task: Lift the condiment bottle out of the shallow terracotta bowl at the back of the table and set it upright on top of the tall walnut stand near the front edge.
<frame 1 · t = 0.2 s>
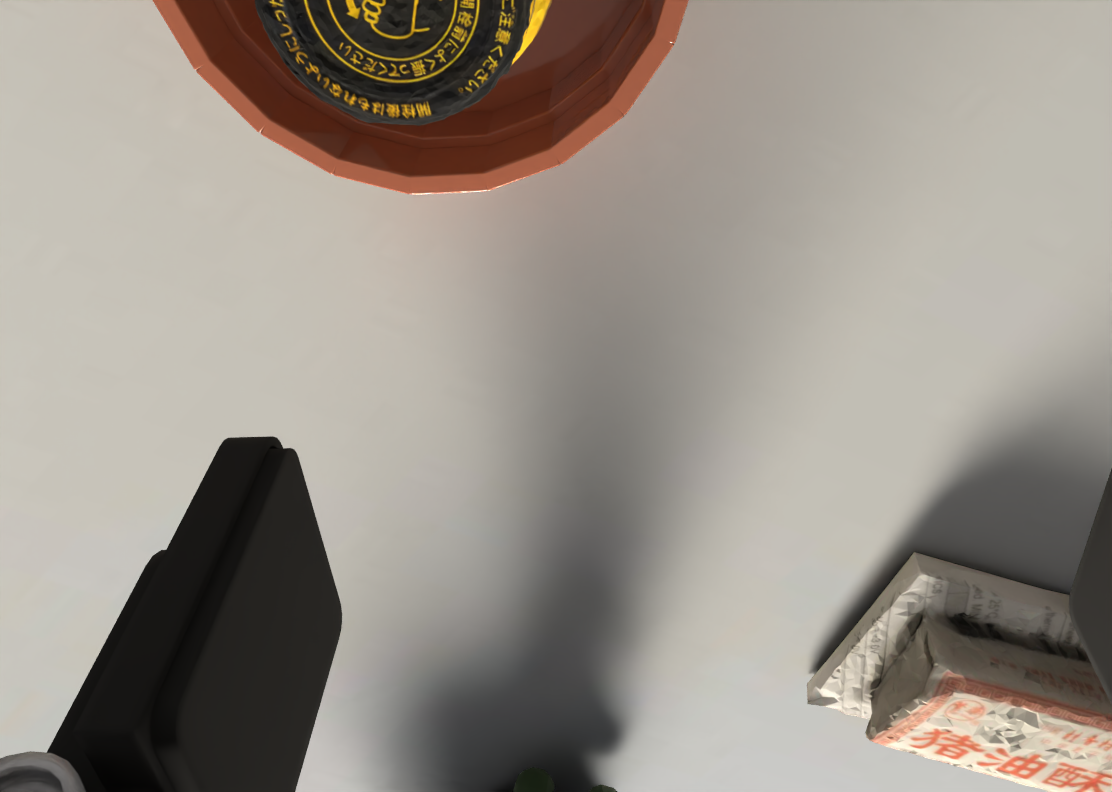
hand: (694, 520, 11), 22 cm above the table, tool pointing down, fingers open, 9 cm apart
packaged product: (1023, 662, 46), on the table
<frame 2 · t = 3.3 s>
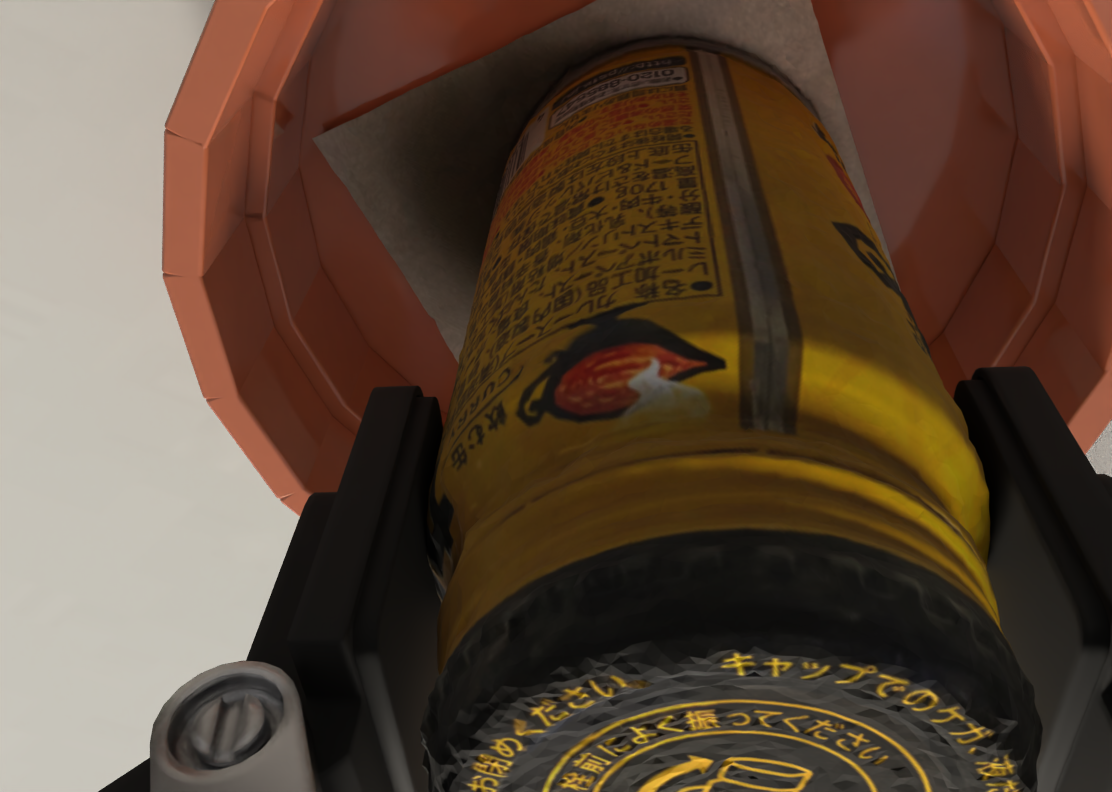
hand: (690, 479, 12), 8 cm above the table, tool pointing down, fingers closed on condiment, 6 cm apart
condiment: (619, 210, 18), resting on dish, touching gripper
dish: (648, 196, 18), on the table
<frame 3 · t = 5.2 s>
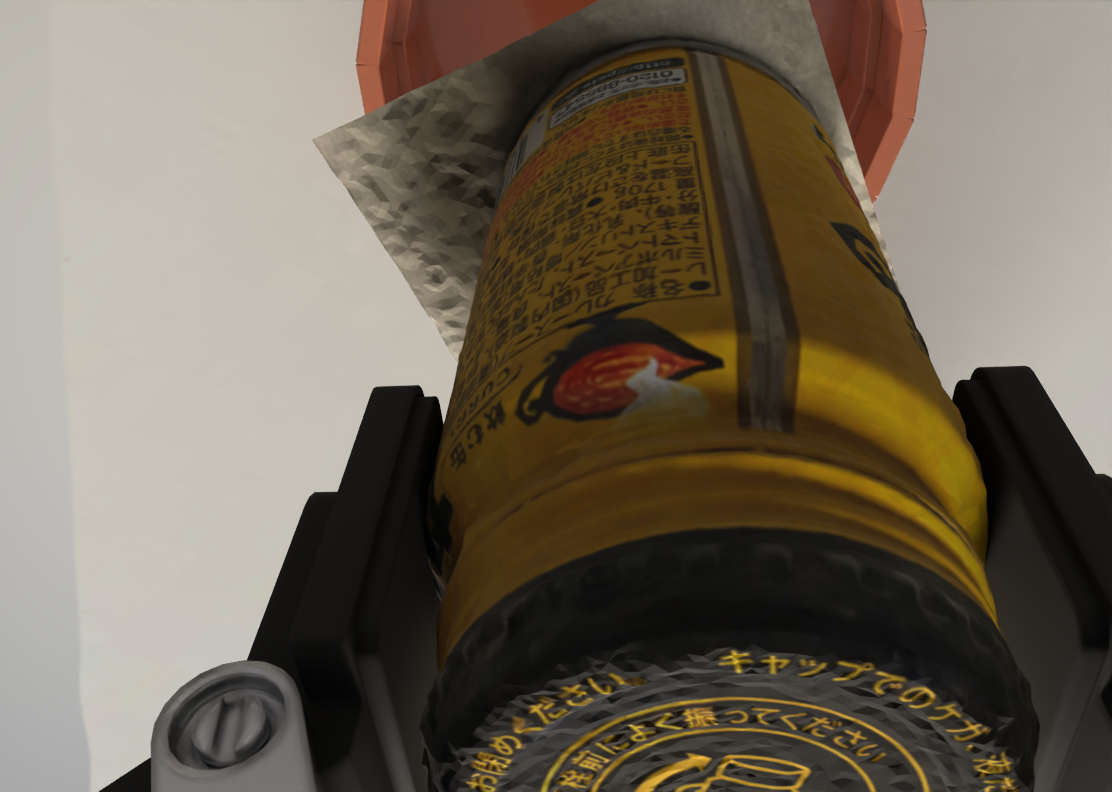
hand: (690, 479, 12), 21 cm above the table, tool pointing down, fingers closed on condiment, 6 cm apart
condiment: (618, 211, 18), point 13 cm above the table, touching gripper
dish: (632, 43, 29), on the table
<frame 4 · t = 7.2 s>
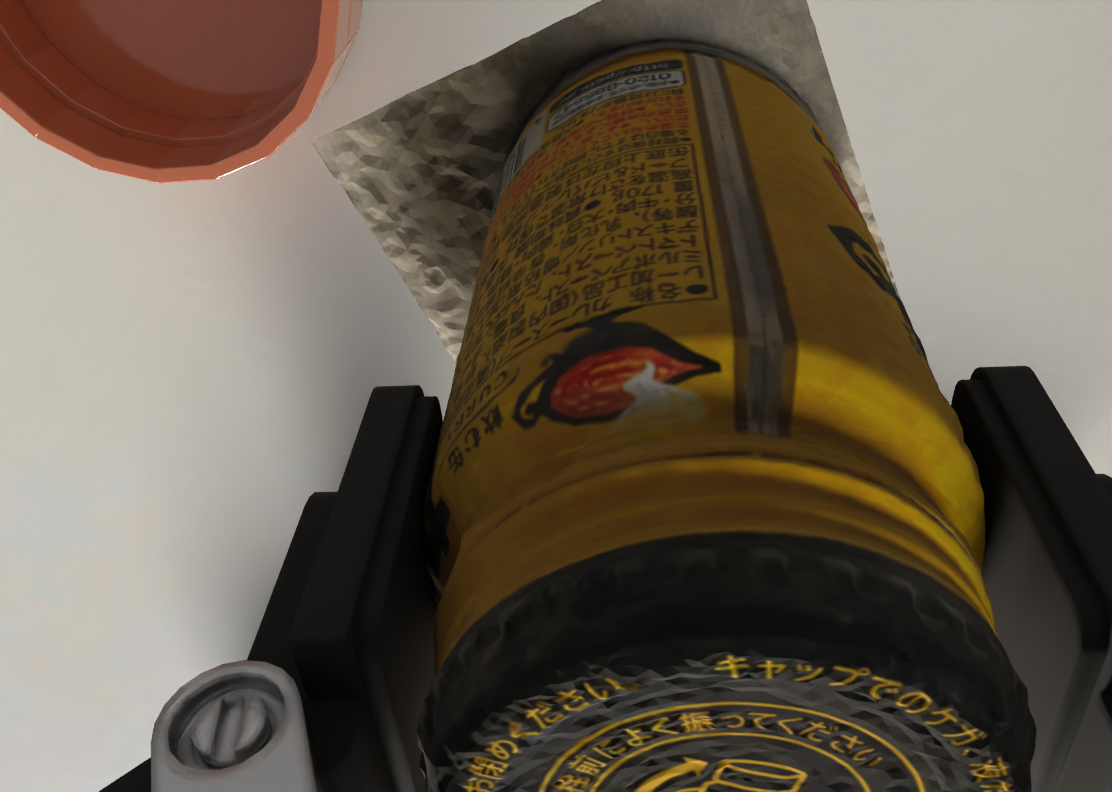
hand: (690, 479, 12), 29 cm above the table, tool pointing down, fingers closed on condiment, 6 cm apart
condiment: (617, 212, 18), point 22 cm above the table, touching gripper
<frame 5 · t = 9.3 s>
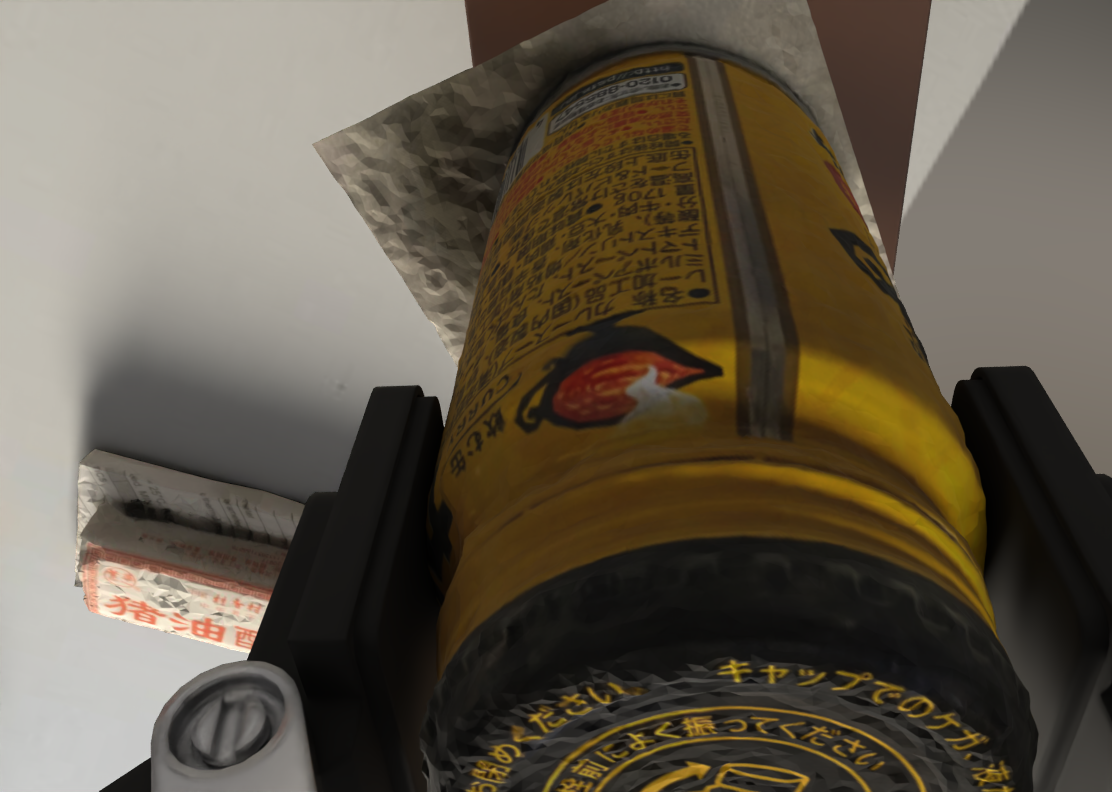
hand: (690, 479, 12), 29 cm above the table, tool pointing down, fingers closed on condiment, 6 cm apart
stand: (677, 17, 29), on the table
condiment: (618, 215, 18), point 22 cm above the table, touching gripper
packaged product: (252, 549, 55), on the table
when the fingers open (23 cm above the table, at t = 11.1 s): condiment stays where it is, resting on stand.
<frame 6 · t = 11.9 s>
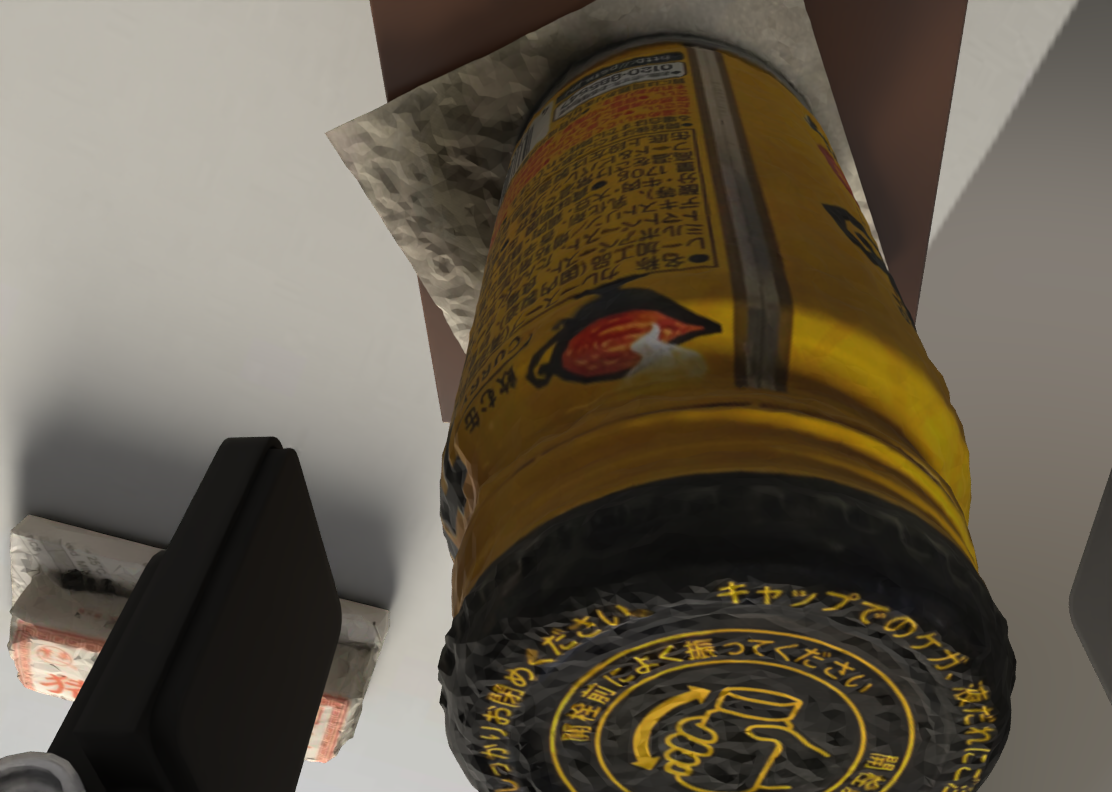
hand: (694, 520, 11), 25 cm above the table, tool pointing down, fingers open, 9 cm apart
stand: (653, 73, 25), on the table
condiment: (620, 202, 19), point 16 cm above the table, touching stand
packaged product: (204, 618, 51), on the table
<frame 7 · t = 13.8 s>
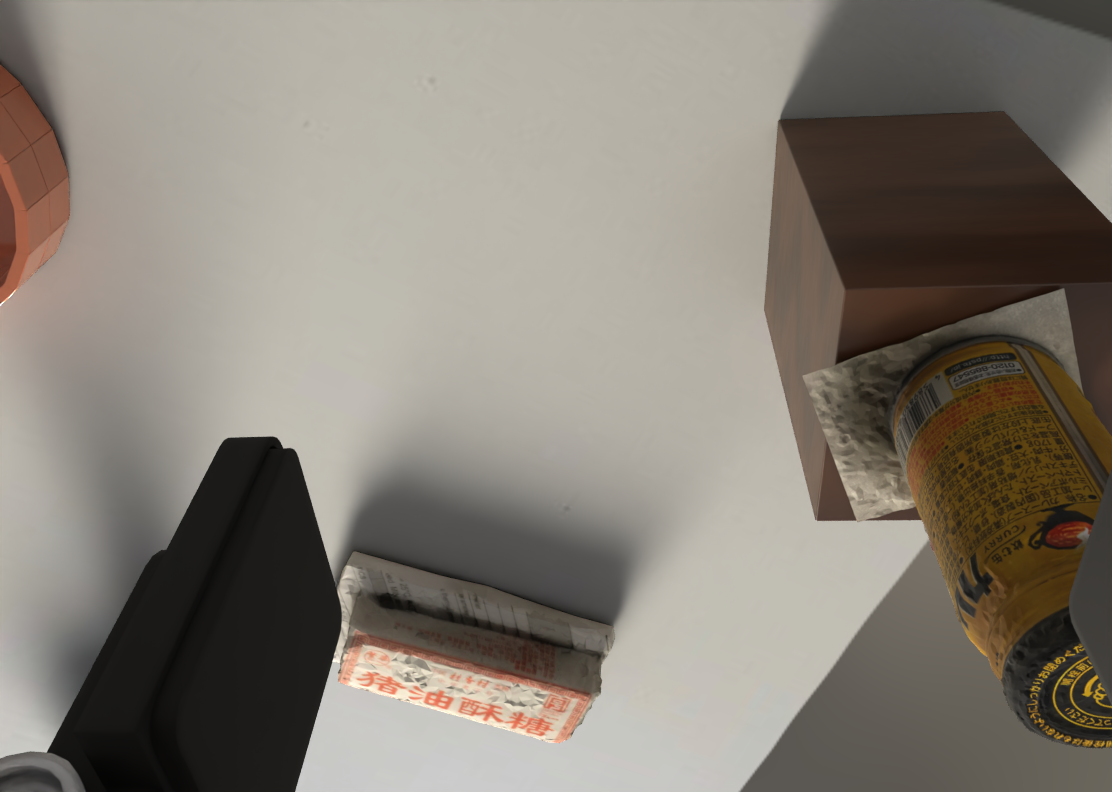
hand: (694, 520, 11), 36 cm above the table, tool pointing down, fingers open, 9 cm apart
stand: (917, 299, 41), on the table
condiment: (948, 408, 34), point 16 cm above the table, touching stand
packaged product: (465, 630, 66), on the table
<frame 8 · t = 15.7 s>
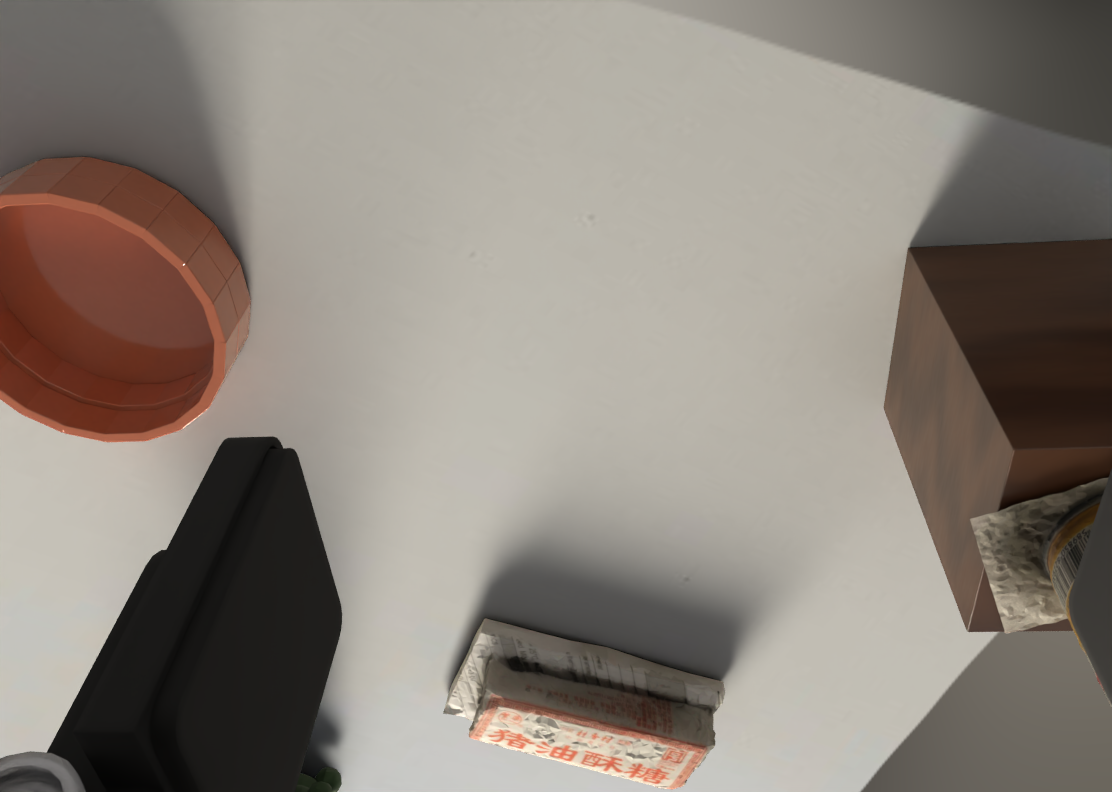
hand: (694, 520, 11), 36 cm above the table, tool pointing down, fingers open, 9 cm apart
stand: (1047, 421, 45), on the table
condiment: (1095, 541, 39), point 16 cm above the table, touching stand
dish: (116, 283, 52), on the table
packaged product: (583, 685, 71), on the table
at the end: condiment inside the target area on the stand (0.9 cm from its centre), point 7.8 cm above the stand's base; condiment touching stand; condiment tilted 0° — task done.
